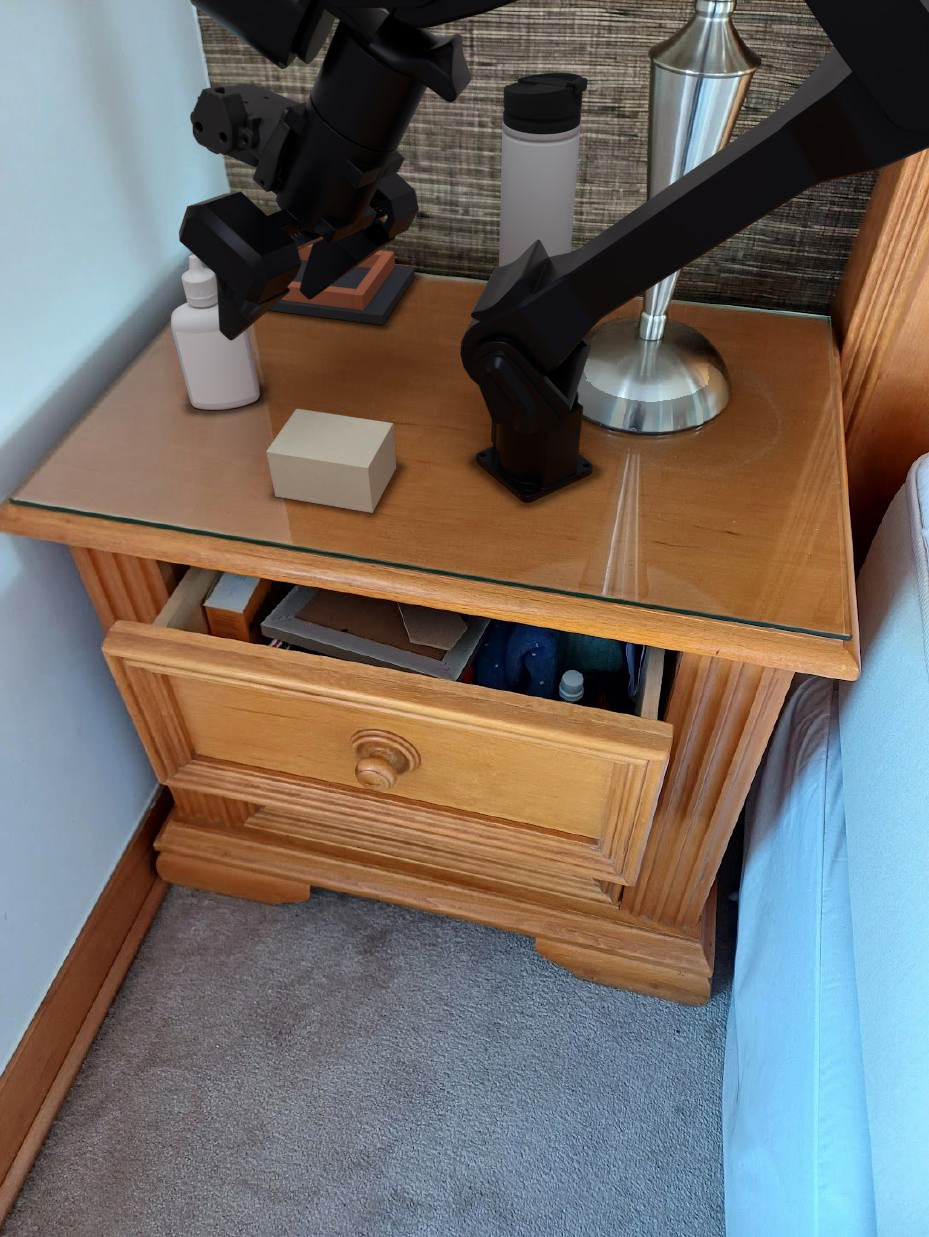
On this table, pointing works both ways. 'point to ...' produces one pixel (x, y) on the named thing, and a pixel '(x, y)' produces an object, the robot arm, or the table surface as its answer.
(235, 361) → the eye dropper bottle
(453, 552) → the table surface
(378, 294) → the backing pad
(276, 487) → the cream block
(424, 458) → the table surface
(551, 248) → the travel mug
